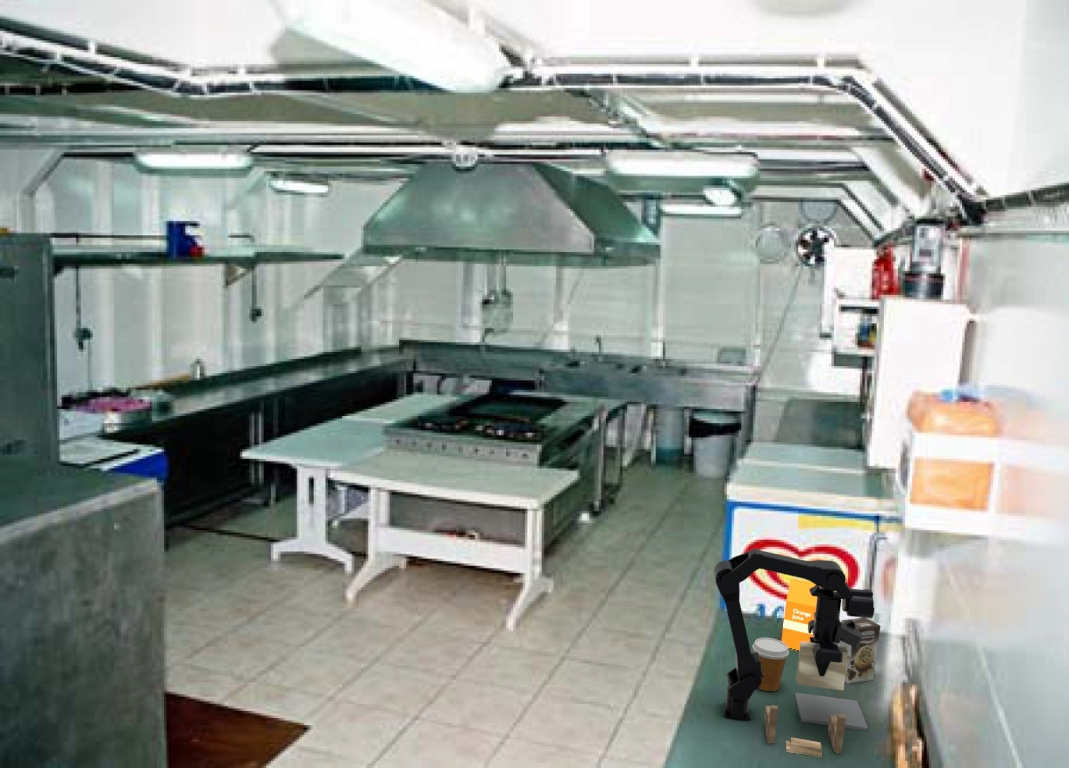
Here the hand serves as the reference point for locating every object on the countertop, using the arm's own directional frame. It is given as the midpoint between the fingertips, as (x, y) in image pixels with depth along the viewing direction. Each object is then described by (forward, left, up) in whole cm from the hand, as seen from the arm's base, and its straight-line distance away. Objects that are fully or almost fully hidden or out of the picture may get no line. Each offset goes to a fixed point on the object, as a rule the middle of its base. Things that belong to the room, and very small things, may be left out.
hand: (820, 673), depth 230 cm
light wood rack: (+8, -4, -13) cm, 16 cm away
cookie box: (-30, +15, -14) cm, 36 cm away
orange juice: (-47, +2, -14) cm, 48 cm away
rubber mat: (-7, +5, -13) cm, 15 cm away
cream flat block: (0, 0, -3) cm, 3 cm away
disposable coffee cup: (-17, -10, -14) cm, 24 cm away
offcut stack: (+15, -5, -14) cm, 21 cm away
